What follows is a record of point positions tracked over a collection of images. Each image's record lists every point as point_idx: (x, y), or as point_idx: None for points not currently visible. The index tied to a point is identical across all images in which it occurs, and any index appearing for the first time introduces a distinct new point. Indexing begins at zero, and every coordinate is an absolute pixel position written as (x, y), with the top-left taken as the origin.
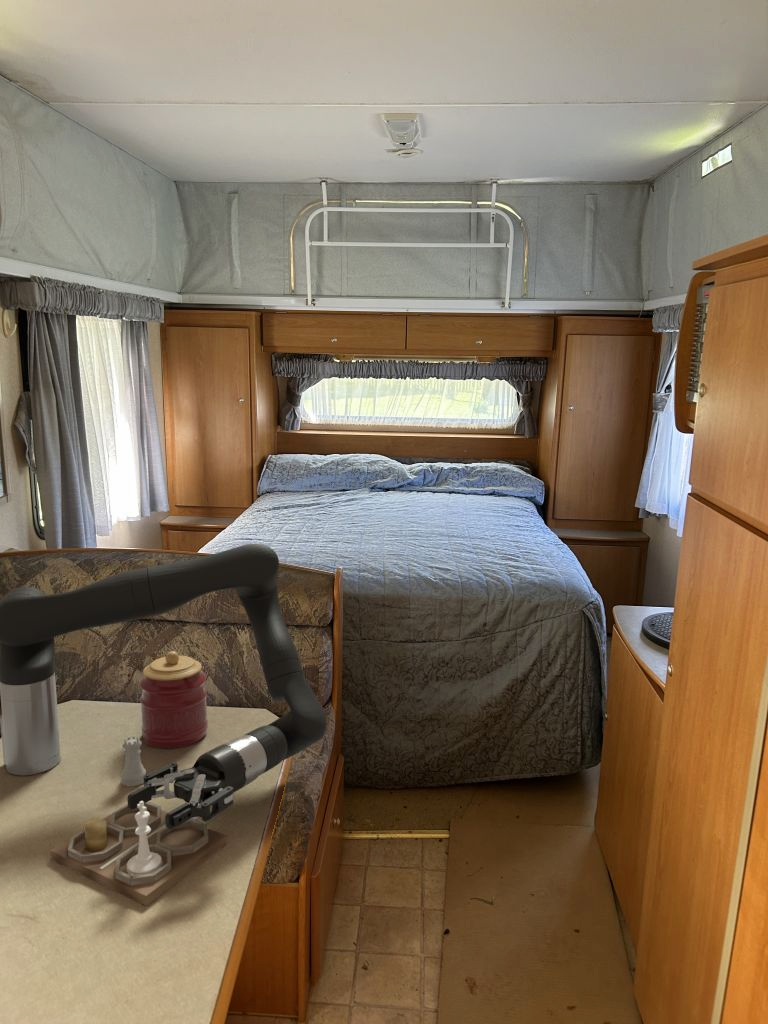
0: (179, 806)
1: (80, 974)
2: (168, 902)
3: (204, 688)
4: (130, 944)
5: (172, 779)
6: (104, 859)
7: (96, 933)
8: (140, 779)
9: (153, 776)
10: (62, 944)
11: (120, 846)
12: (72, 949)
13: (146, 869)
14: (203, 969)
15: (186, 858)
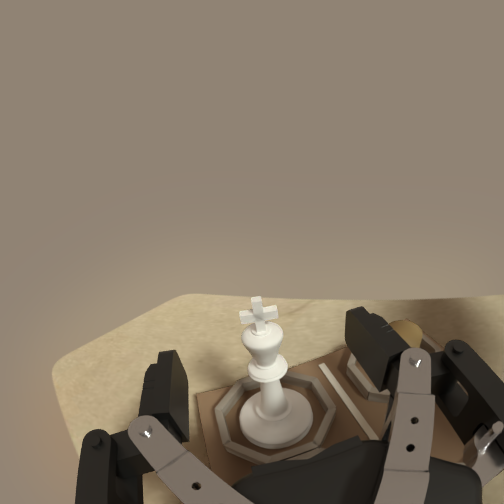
0: (169, 387)
1: (171, 327)
2: None
3: None
4: None
5: (392, 426)
6: (346, 372)
7: (209, 349)
8: None
9: (455, 367)
10: (223, 325)
11: (365, 393)
12: (208, 329)
13: (245, 407)
14: (69, 388)
15: None
